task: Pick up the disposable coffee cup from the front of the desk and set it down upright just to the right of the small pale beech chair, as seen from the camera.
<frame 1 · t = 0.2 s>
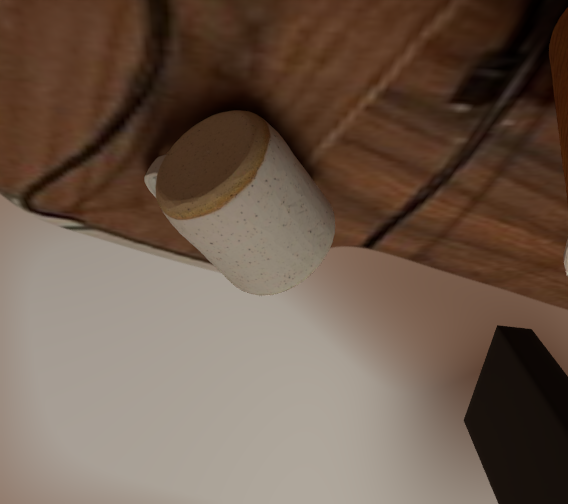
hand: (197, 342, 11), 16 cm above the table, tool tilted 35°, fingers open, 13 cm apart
ceramic mug: (236, 159, 30), on the table
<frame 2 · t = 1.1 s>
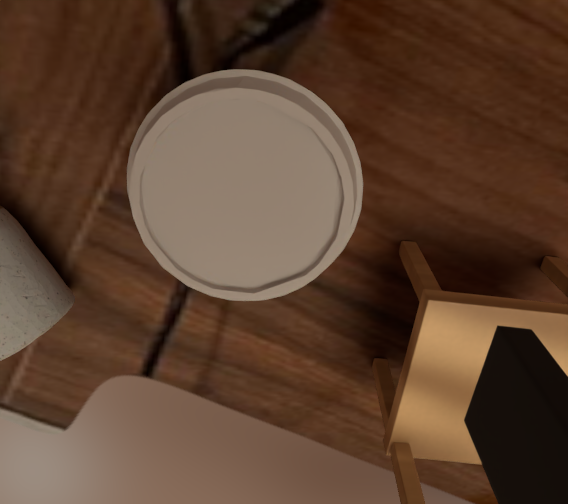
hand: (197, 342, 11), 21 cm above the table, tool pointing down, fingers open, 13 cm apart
disposable coffee cup: (262, 135, 30), on the table
chair: (459, 316, 35), on the table
ceramic mug: (4, 266, 34), on the table
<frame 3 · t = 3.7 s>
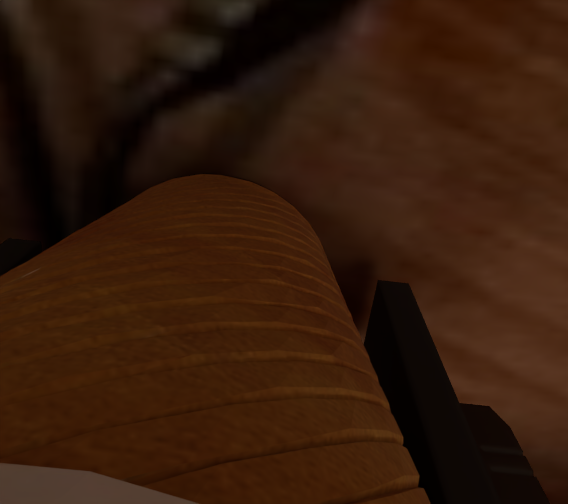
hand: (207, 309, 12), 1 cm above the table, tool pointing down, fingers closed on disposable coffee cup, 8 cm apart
disposable coffee cup: (216, 281, 14), on the table, touching gripper
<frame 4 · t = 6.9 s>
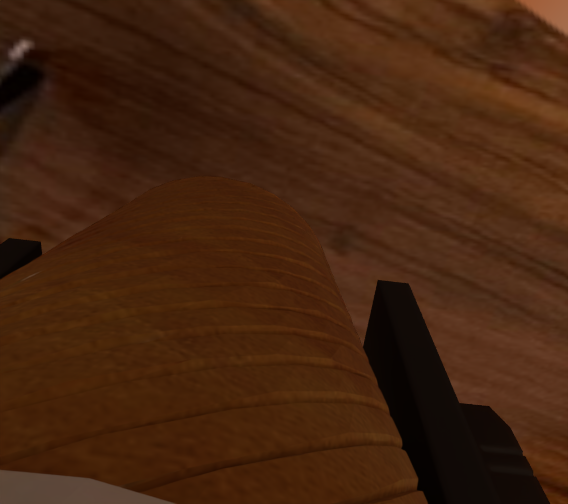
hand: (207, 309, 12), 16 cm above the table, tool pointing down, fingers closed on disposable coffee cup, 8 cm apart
disposable coffee cup: (216, 282, 14), point 15 cm above the table, touching gripper
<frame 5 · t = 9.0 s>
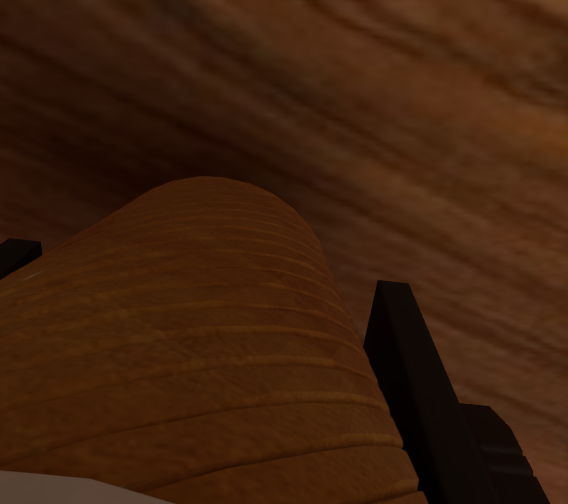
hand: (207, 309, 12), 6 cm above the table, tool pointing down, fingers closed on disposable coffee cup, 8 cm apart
disposable coffee cup: (216, 283, 14), point 5 cm above the table, touching gripper
when the fingers open (1 cm above the table, at t = 10.6 s): disposable coffee cup stays where it is, on the table.
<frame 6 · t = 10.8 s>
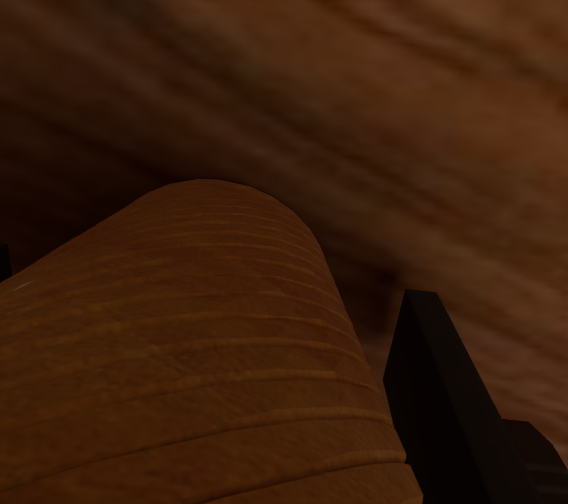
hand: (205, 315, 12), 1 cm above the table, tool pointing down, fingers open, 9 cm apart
disposable coffee cup: (215, 287, 13), on the table
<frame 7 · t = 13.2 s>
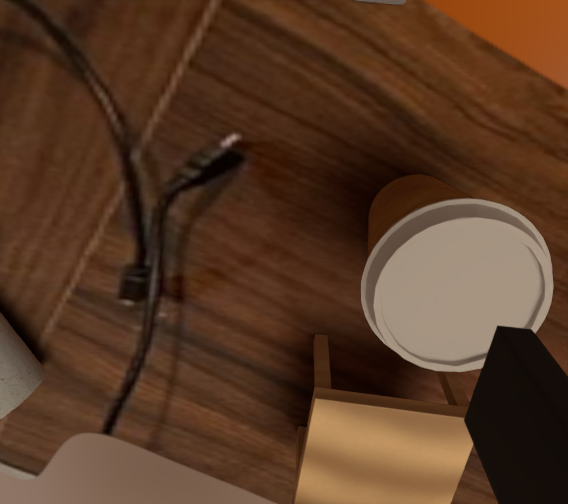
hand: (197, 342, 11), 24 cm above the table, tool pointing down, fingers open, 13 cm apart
disposable coffee cup: (412, 216, 35), on the table
chair: (367, 394, 41), on the table
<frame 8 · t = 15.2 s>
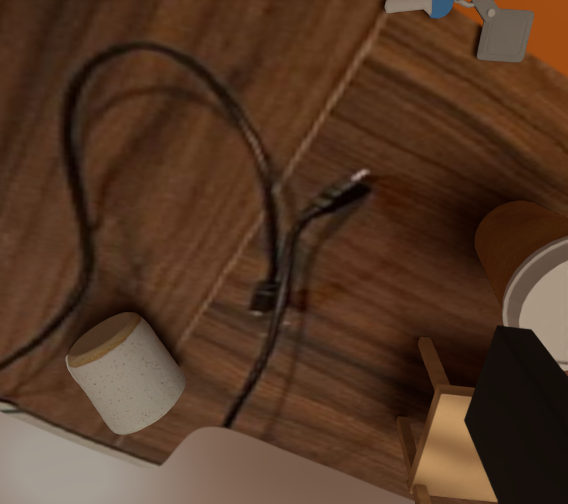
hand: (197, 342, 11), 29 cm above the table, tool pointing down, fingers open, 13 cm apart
disposable coffee cup: (512, 235, 41), on the table
chair: (461, 387, 47), on the table
ceramic mug: (129, 350, 47), on the table
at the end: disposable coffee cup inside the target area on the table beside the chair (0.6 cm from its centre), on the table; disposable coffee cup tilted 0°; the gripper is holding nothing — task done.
